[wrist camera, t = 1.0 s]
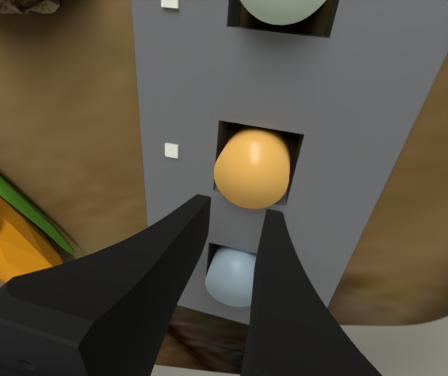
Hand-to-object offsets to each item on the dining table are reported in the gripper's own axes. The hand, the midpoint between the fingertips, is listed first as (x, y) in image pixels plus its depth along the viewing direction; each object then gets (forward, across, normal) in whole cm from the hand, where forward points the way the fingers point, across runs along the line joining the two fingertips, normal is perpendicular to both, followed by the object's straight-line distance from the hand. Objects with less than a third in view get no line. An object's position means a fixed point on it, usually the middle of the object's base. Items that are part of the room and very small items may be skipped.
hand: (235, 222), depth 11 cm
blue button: (+7, 0, +9) cm, 11 cm away
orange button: (+7, 0, 0) cm, 7 cm away
